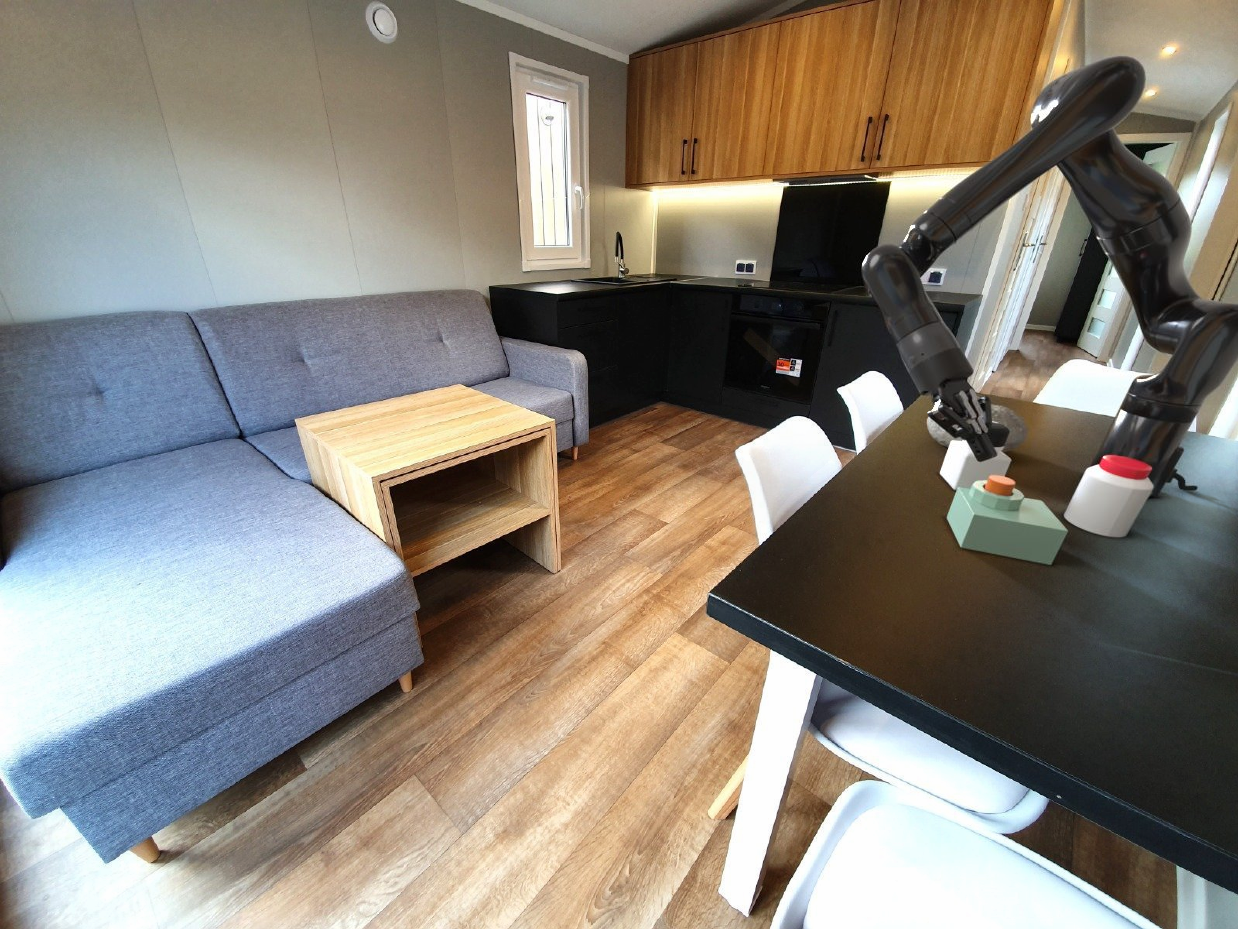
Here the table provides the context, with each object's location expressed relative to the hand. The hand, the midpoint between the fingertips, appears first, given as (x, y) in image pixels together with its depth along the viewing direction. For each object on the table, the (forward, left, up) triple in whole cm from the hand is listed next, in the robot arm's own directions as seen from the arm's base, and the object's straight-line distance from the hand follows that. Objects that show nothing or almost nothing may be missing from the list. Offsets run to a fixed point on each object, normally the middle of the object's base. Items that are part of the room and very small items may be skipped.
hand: (988, 459), depth 72 cm
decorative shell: (-9, -38, -12) cm, 41 cm away
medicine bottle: (-4, -17, -12) cm, 21 cm away
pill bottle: (-20, -9, -12) cm, 25 cm away
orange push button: (-2, +2, -4) cm, 5 cm away
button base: (-3, +3, -11) cm, 12 cm away
